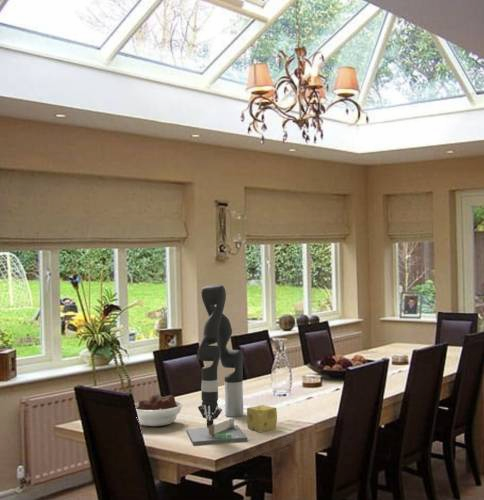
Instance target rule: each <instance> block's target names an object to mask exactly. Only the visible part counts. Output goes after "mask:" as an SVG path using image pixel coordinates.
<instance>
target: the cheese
mask: <svg viewBox="0 0 484 500" xmlns="http://www.w3.org/2000/svg"><path fill="white" fill-rule="evenodd" d="M277 421H278V411H277V407H276V406H268V405H264V404H262V405H256V406H251V407H247V408H246V424H247V425H246V426H247V429H248V430H253V431H255V432H257V433H263V432H267V431H271V430H276V429H277V423H278V422H277Z"/></svg>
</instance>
